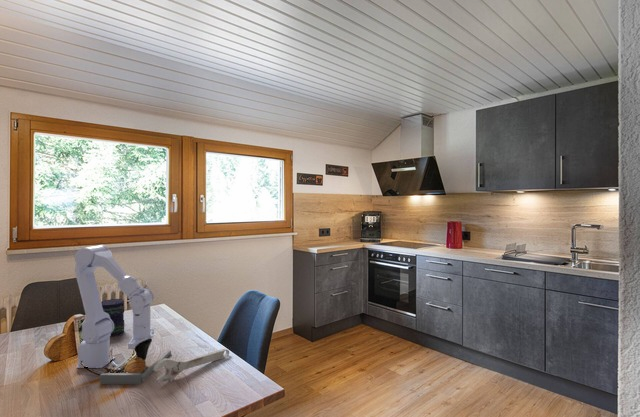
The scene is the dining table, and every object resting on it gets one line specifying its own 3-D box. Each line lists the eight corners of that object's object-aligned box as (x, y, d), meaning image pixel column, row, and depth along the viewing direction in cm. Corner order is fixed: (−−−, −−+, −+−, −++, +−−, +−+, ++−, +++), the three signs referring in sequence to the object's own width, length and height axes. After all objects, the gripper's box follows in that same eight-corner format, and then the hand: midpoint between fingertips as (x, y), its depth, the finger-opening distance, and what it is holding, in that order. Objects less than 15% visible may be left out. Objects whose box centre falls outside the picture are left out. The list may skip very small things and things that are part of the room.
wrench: (228, 363, 132) (154, 388, 107) (225, 362, 133) (151, 386, 108) (230, 342, 132) (156, 362, 108) (227, 341, 133) (153, 360, 109)
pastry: (146, 376, 116) (146, 365, 116) (124, 381, 113) (123, 370, 113) (145, 365, 124) (145, 354, 124) (124, 369, 121) (124, 359, 121)
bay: (100, 383, 111) (100, 374, 111) (137, 353, 133) (137, 346, 133) (140, 384, 111) (140, 375, 111) (170, 353, 133) (170, 346, 133)
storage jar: (94, 336, 152) (94, 303, 152) (114, 328, 161) (114, 297, 161) (109, 339, 148) (109, 305, 148) (129, 331, 157) (129, 300, 157)
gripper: (142, 331, 117) (142, 369, 117) (161, 317, 131) (161, 351, 132) (122, 331, 117) (122, 369, 117) (143, 317, 131) (144, 351, 132)
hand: (142, 360), depth 124 cm, fingers closed
